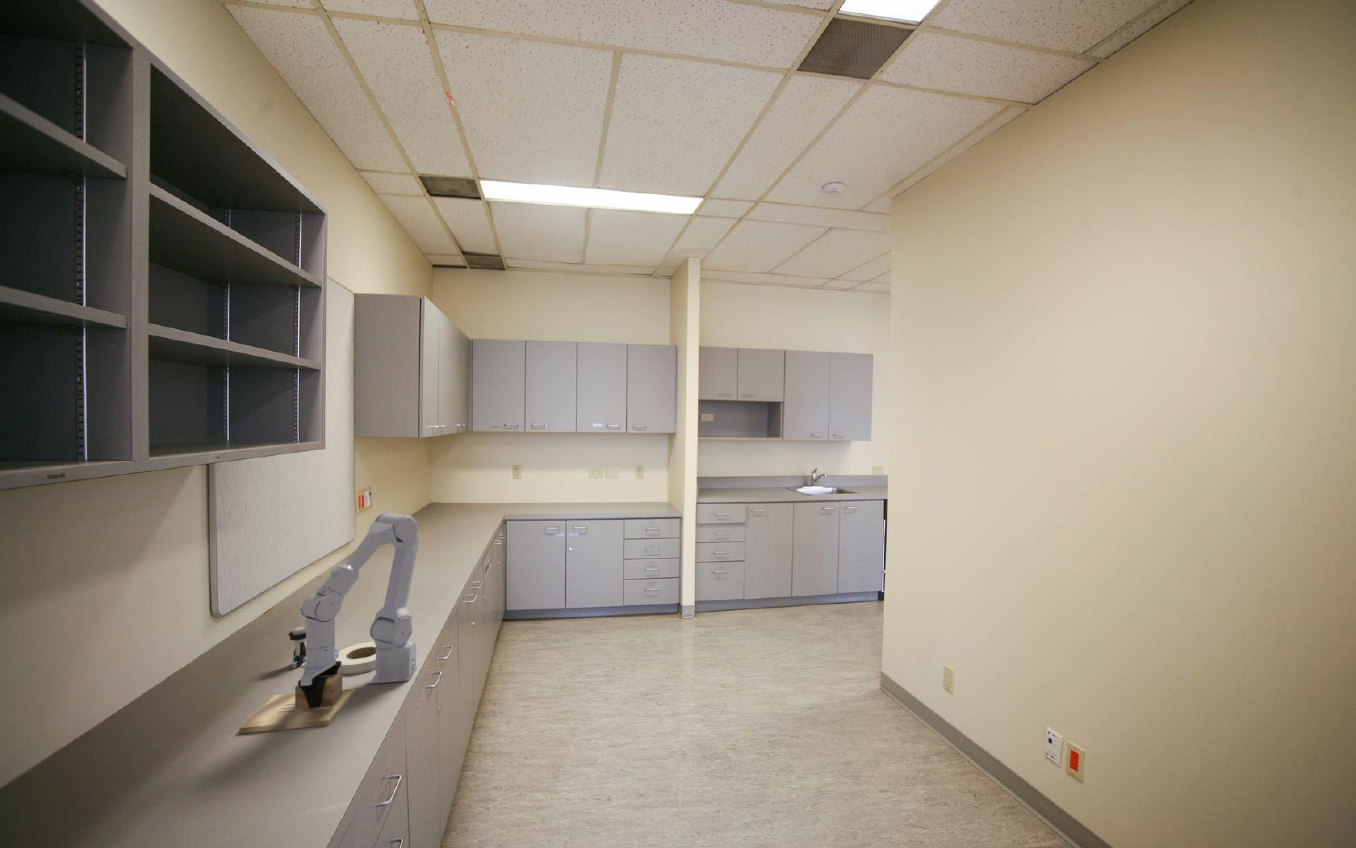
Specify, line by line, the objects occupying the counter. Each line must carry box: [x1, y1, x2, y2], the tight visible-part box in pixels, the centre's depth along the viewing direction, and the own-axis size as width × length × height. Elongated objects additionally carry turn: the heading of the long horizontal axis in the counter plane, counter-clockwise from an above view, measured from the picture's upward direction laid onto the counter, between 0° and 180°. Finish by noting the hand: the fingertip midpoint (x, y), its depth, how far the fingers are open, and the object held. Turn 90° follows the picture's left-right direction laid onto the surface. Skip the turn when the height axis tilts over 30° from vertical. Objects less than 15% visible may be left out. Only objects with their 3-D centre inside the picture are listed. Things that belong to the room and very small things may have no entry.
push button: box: [288, 625, 306, 669], centre depth 148 cm, size 7×5×10 cm
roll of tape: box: [336, 641, 376, 675], centre depth 151 cm, size 16×15×3 cm
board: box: [238, 688, 355, 734], centre depth 124 cm, size 18×14×1 cm
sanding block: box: [294, 673, 343, 713], centre depth 125 cm, size 8×5×6 cm, turn 100°
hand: (320, 700), depth 125 cm, fingers closed on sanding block, 5 cm apart
